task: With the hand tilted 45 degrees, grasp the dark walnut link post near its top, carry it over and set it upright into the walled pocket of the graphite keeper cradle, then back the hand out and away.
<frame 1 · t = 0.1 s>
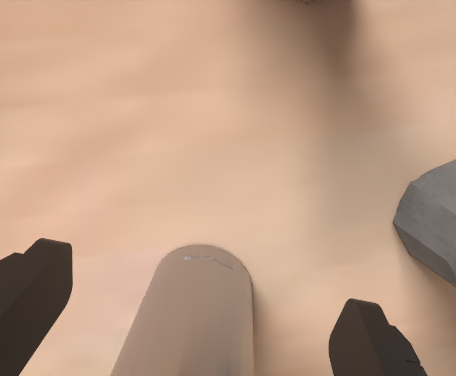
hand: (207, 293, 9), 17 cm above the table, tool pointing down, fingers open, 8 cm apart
coffeepot: (447, 223, 27), on the table
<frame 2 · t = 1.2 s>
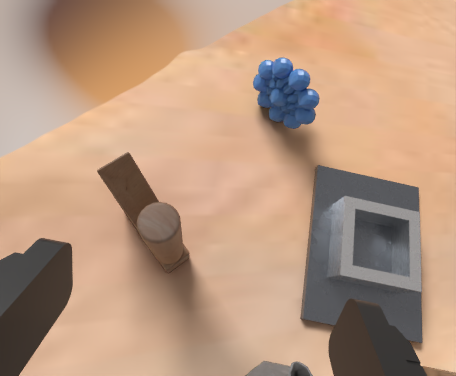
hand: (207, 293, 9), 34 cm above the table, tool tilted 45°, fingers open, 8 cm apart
grapes: (278, 115, 53), on the table
keeper cradle: (362, 248, 47), on the table
brown wooden pegged bracket: (156, 233, 44), on the table
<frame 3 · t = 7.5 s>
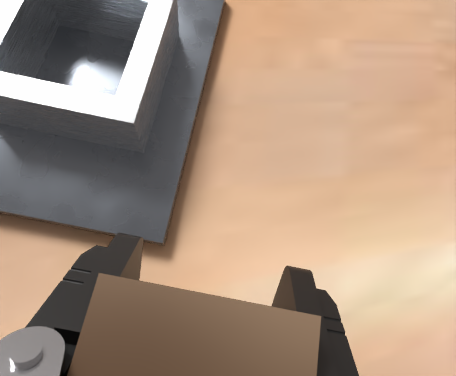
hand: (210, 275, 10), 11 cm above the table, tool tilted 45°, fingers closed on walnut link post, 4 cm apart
keeper cradle: (96, 83, 25), on the table
walnut link post: (192, 336, 20), on the table, touching gripper
when the fingers open (14 cm above the table, at t = 14.4 s): walnut link post drops 1 cm, resting on keeper cradle.
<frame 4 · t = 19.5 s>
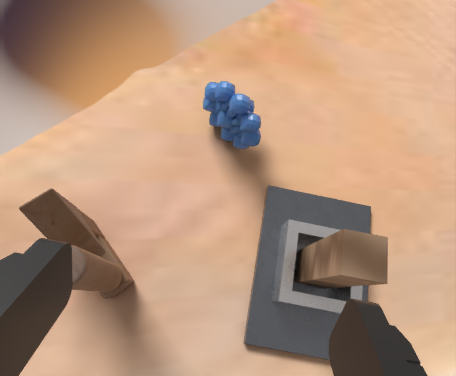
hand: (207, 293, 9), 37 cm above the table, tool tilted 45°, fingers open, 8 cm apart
grapes: (231, 133, 53), on the table
keeper cradle: (310, 269, 47), on the table
walnut link post: (312, 269, 46), point 1 cm above the table, touching keeper cradle
brown wooden pegged bracket: (102, 258, 45), on the table
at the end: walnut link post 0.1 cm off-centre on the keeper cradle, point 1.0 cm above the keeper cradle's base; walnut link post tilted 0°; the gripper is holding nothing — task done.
